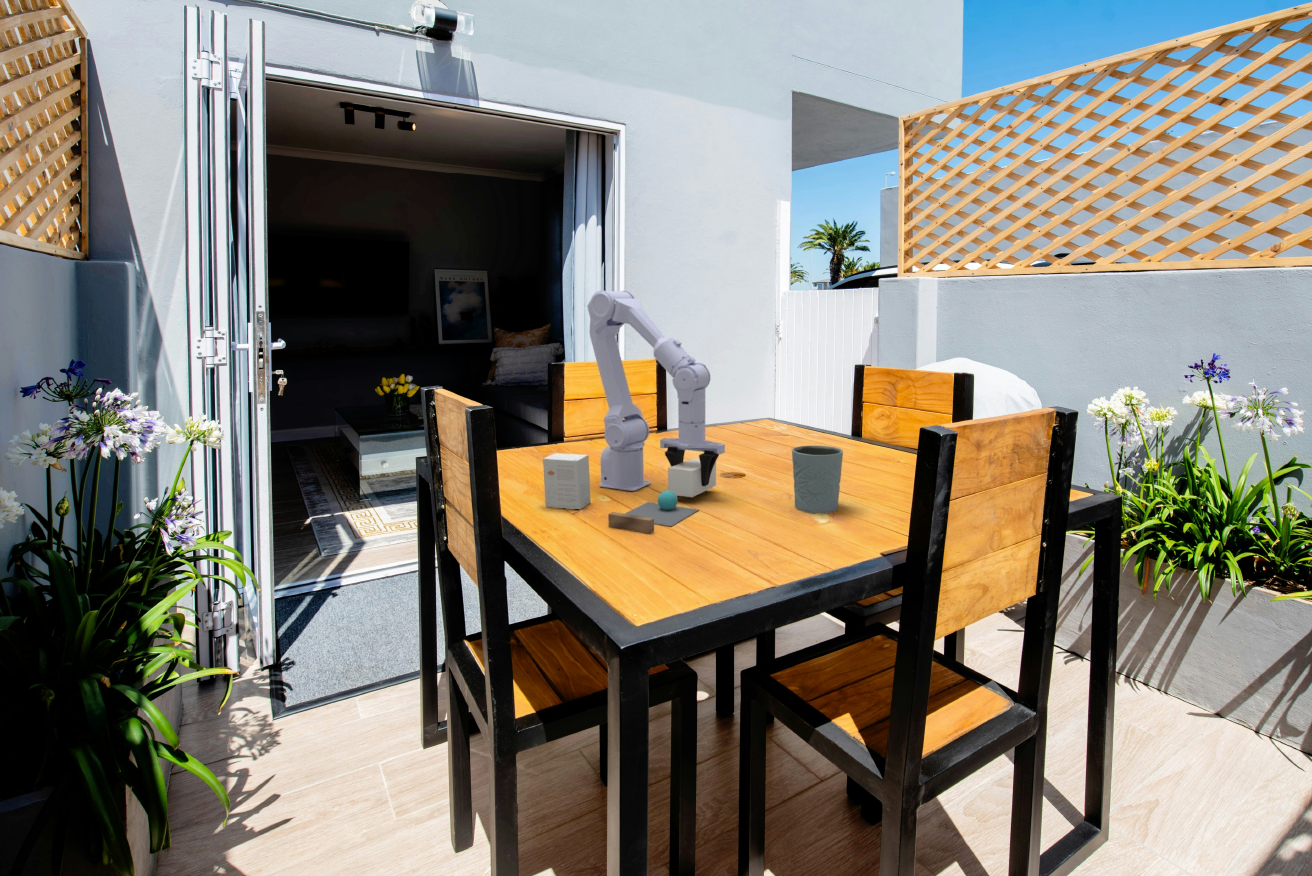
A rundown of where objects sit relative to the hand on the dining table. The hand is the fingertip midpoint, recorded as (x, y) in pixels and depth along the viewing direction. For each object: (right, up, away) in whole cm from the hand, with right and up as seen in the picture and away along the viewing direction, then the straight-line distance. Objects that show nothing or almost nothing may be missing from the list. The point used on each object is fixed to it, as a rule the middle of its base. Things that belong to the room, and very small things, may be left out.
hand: (692, 483), depth 153 cm
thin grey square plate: (-7, -5, -12) cm, 15 cm away
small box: (-26, -5, -5) cm, 27 cm away
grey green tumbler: (+25, -5, -8) cm, 27 cm away
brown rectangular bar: (-12, -7, -21) cm, 25 cm away
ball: (-5, -3, -10) cm, 12 cm away
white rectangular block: (0, -1, 0) cm, 2 cm away
